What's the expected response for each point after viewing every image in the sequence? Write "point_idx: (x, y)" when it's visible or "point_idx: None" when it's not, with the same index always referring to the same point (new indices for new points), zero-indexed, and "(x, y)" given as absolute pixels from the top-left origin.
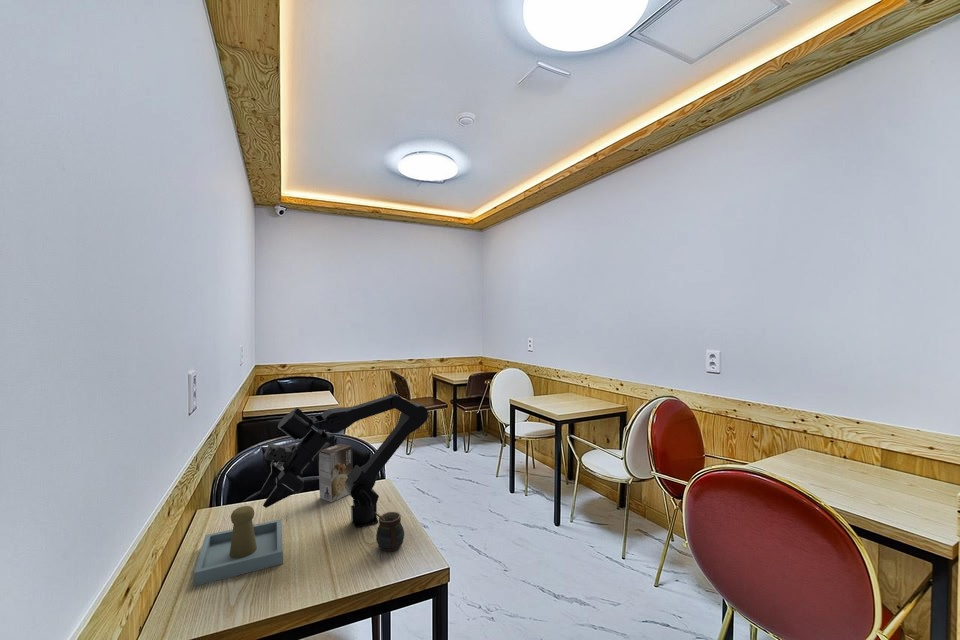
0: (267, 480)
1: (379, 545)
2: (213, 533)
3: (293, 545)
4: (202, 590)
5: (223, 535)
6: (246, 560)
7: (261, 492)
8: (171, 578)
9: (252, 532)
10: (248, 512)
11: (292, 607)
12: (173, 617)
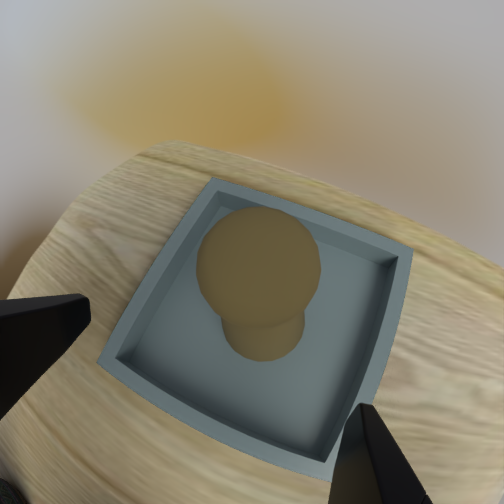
0: (381, 496)
1: (4, 482)
2: (409, 267)
3: (180, 445)
4: (185, 205)
5: (387, 292)
6: (146, 275)
7: (353, 412)
8: (293, 179)
9: (227, 325)
10: (200, 267)
11: (15, 288)
12: (156, 163)
